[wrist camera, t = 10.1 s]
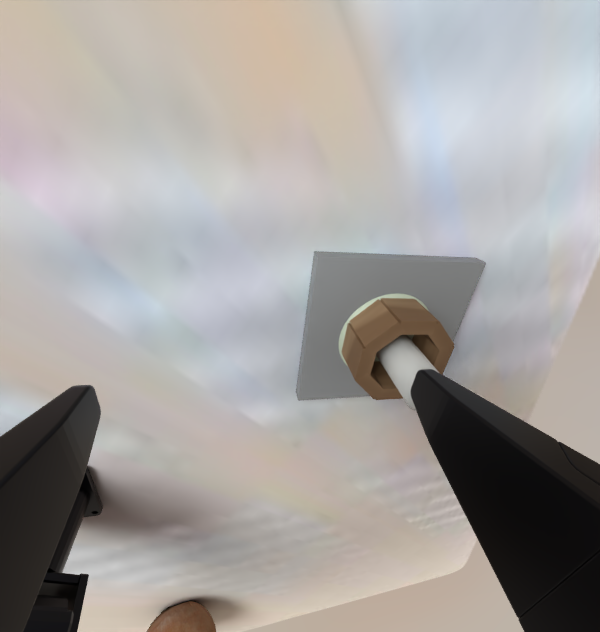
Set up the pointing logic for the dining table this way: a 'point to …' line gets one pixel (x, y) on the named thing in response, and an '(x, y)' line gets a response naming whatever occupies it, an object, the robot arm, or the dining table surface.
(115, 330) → the dining table surface
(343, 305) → the post board
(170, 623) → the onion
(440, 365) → the ring
